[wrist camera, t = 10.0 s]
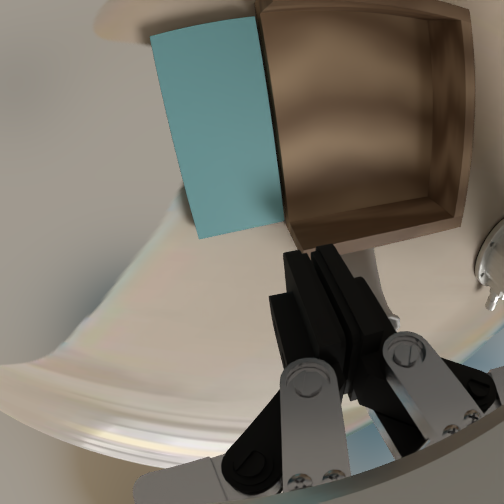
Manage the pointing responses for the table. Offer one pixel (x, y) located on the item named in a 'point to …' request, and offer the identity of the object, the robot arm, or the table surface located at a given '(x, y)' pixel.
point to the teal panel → (220, 124)
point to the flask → (369, 277)
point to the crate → (369, 117)
